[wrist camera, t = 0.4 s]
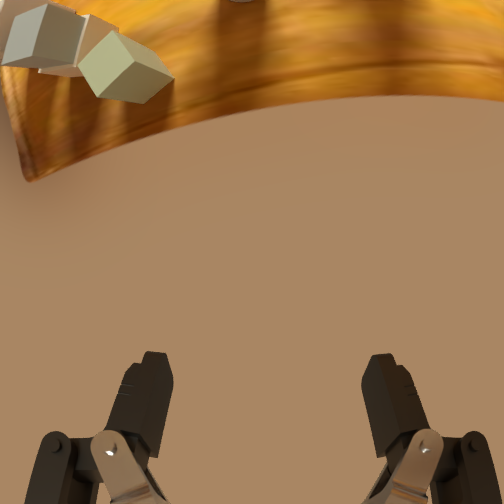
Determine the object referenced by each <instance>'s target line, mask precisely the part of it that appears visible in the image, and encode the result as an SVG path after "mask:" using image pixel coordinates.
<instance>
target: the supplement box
mask: <svg viewBox="0 0 504 504" xmlns="http://www.w3.org/2000/svg"><path fill="white" fill-rule="evenodd" d="M45 4H51V5H54V6H57V7H59V8H62V9H64V10H67V11H70V12H72V13H75V12H76V10H74V9H71V8H69V7H66V6H64V5H61V4H58V3H56V2H53V1H50V0H0V66H10V65H1V64H2V60H3V56H4V52H5V48H6V44H7V41H8V37H9V34H10V31H11V27H12V24H13V21H14V18H15V17H16V16H18V15H20V14H22V13H25V12H27V11H29V10H32V9H34V8H37V7H40V6H42V5H45ZM10 67H21V66H10ZM22 68H30V67H22Z"/></svg>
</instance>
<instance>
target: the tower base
mask: <svg viewBox="0 0 504 504" xmlns="http://www.w3.org/2000/svg"><path fill="white" fill-rule="evenodd" d="M82 17H84V18H86V19H85V23H84V26H83V29H82V32H81V36H80V40H79V43H78V47H77V51H76V55H75V59H74V63H73V64H67V65H61V66H54V67H49V68H43V69H39V71H38V73H43V74H51V75H58V76H65V77H80V76H84V75H83V74H82V72H81V71H80V69H79V67H78V66H77V65H78V64H79V63H80V62H81V61H82V60H83V59H84V58H85V57H86V56H87V54H88V53H89V52H90V51H91V50H92V49H93V48H94V47H95V46H96V45H97V44H98V43H99V42H100V41H101V40H102V39H103V38H105V37H106V36H107V35H108V34H109V33H110V32H111V31H112V30H113V31H115V32H117V33H118V31H119V28H118V27H116V26H114V25H112V24H110V23H108V22H106V21H104V20H102V19H100V18H98V17H96V16H94V15H91V14H87V15H83V16H82Z"/></svg>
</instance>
